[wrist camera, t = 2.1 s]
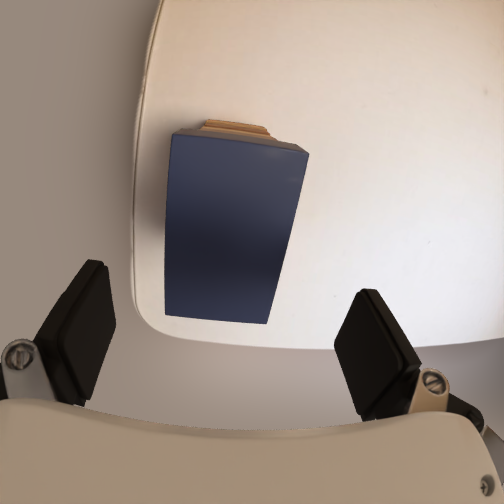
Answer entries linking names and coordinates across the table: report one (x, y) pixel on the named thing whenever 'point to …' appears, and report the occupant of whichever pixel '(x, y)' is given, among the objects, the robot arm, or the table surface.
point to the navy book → (228, 223)
